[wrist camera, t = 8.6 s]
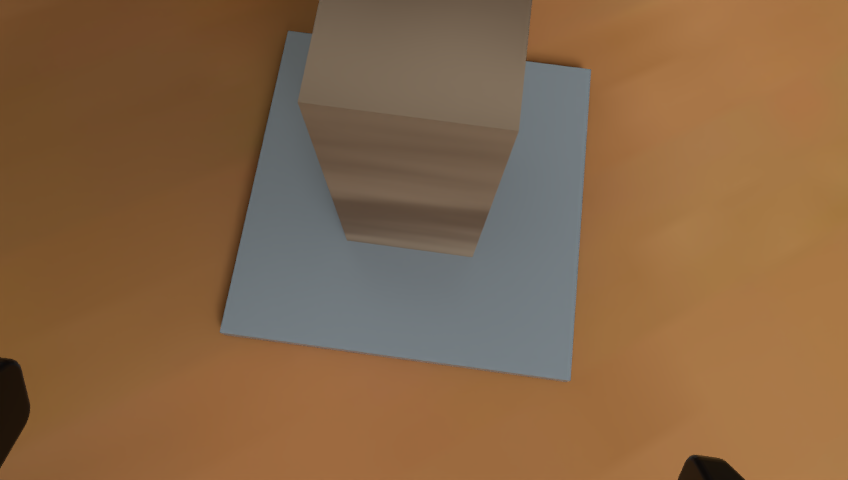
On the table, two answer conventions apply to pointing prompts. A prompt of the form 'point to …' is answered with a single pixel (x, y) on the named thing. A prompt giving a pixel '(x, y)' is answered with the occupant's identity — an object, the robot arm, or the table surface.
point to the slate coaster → (414, 269)
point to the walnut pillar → (415, 114)
